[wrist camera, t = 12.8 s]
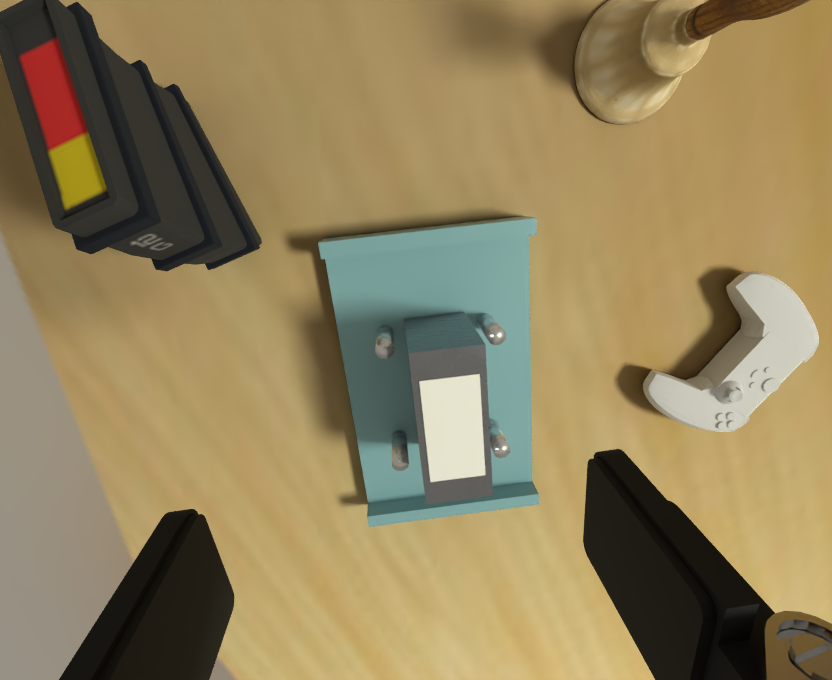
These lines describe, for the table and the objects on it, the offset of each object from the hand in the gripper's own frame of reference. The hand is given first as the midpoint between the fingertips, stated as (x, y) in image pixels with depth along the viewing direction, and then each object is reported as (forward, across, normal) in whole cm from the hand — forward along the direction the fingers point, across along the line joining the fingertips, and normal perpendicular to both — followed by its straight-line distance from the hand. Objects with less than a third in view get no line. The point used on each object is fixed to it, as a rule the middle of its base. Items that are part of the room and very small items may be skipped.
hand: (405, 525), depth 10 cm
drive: (+24, -3, +9) cm, 26 cm away
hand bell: (+27, -20, -14) cm, 36 cm away
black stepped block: (+27, +12, -10) cm, 31 cm away
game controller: (+26, -29, +10) cm, 40 cm away
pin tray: (+26, -4, +9) cm, 27 cm away
